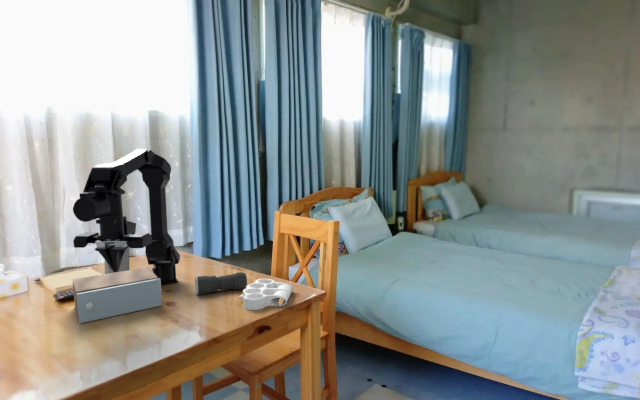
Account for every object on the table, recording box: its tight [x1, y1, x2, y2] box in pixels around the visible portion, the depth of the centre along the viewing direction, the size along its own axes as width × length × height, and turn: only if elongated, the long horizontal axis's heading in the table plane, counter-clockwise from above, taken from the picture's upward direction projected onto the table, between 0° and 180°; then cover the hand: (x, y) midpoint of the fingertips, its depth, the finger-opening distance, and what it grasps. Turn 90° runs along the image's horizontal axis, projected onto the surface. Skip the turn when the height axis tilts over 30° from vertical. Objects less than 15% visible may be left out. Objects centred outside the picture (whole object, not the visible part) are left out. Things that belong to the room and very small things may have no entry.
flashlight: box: [194, 271, 248, 296], centre depth 133 cm, size 15×5×5 cm, turn 111°
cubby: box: [72, 266, 158, 321], centre depth 122 cm, size 20×12×8 cm, turn 123°
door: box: [76, 278, 163, 324], centre depth 116 cm, size 20×2×8 cm, turn 124°
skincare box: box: [104, 234, 130, 274], centre depth 147 cm, size 8×7×16 cm
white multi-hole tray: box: [237, 278, 294, 311], centre depth 127 cm, size 3×18×15 cm
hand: (116, 271), depth 115 cm, fingers closed
